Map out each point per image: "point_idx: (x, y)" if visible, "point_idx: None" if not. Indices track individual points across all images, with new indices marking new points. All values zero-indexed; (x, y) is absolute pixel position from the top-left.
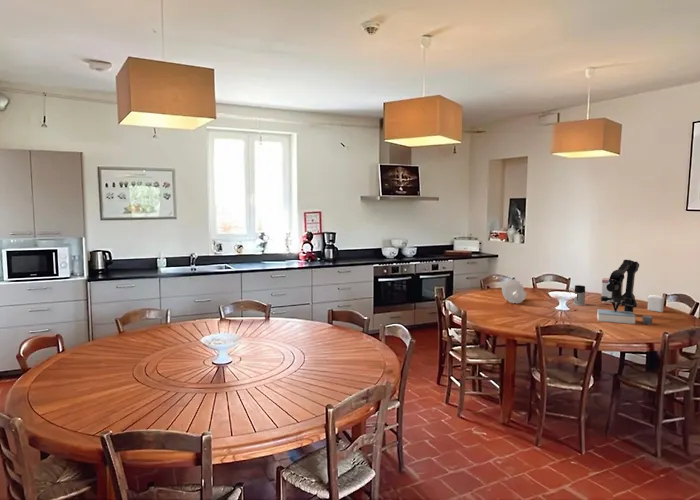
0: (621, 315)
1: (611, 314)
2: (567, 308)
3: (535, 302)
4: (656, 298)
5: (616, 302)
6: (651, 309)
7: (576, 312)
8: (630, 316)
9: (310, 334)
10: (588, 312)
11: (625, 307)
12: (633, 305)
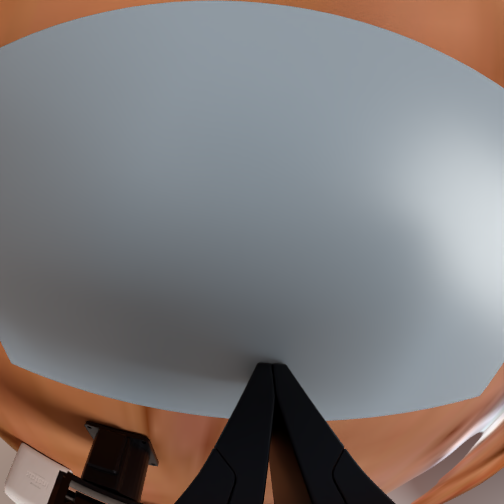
0: (193, 8)
1: (447, 59)
2: (460, 441)
3: (499, 446)
4: (23, 497)
5: None
6: (54, 465)
7: (481, 395)
8: (20, 44)
9: None
10: (406, 430)
11: (131, 489)
12: (64, 485)
